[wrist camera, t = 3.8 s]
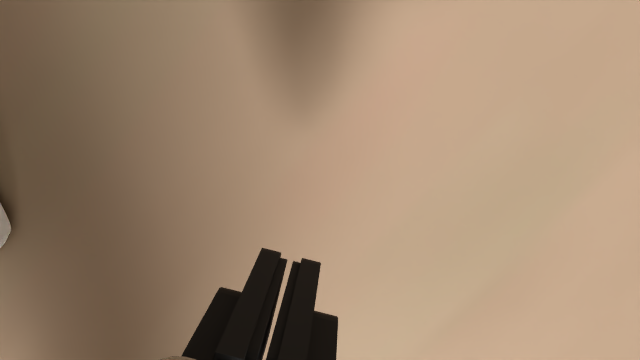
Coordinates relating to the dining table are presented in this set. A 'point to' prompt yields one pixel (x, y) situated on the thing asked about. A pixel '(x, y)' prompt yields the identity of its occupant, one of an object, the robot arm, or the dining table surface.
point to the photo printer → (4, 226)
